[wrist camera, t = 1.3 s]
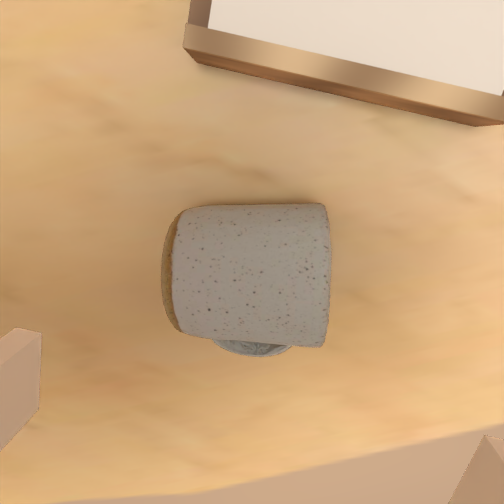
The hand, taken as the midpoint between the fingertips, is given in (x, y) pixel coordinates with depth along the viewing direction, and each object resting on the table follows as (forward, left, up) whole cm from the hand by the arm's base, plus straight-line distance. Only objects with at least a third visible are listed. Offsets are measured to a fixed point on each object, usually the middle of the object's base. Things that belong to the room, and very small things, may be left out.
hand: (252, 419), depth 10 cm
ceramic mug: (0, 0, -14) cm, 14 cm away
